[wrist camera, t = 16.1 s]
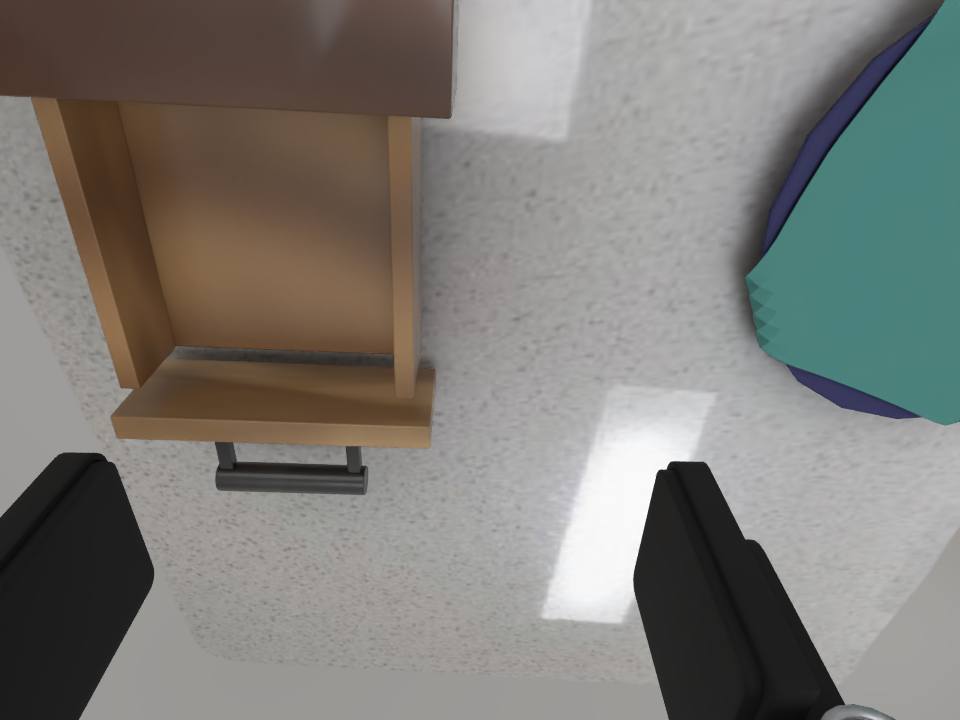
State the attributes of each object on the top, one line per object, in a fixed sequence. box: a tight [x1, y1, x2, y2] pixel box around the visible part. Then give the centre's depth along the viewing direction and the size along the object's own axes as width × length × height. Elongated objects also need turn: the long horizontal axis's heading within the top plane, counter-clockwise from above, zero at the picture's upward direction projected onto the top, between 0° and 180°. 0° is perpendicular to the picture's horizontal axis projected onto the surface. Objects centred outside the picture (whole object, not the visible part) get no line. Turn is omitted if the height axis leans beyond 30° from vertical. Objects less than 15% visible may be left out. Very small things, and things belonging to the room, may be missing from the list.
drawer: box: [31, 97, 436, 495], centre depth 25 cm, size 21×13×5 cm, turn 177°
